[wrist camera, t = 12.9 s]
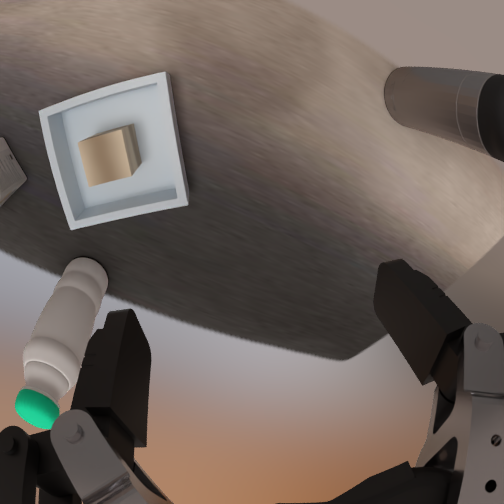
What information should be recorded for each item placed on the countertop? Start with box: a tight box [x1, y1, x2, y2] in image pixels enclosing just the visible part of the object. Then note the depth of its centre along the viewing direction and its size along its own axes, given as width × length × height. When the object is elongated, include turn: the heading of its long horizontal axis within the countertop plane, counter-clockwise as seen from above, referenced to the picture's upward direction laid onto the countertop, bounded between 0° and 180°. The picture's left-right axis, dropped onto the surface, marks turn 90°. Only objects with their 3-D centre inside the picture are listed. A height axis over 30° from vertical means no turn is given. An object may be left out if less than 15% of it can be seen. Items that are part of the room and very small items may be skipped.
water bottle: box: [15, 257, 108, 429], centre depth 30 cm, size 7×7×25 cm
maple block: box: [78, 123, 142, 187], centre depth 30 cm, size 5×5×6 cm
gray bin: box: [39, 72, 189, 230], centre depth 31 cm, size 15×15×5 cm
